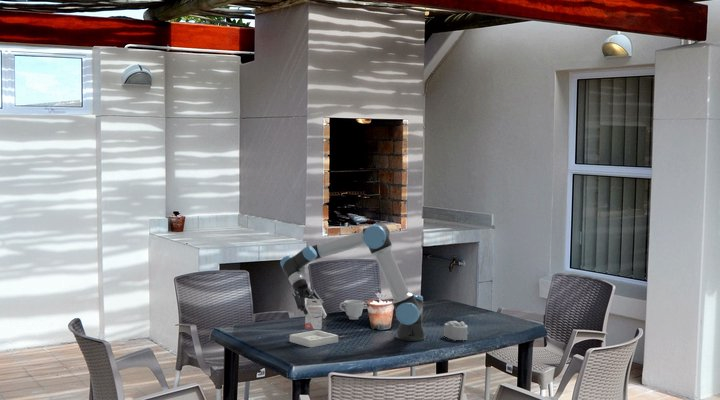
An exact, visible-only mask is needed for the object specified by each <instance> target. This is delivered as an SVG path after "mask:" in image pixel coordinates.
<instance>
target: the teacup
mask: <svg viewBox="0 0 720 400" xmlns="http://www.w3.org/2000/svg"><path fill="white" fill-rule="evenodd" d="M364 304H365V301H364V300H360V299H346V300H344V301H343V302H340V303H339V308H340V310H341V311H342V312H343V311H344V312H345V313H346V316H348V319H349V320H351V321H352V320H353V321H356V320H359V319H360V318H359V317H361V316H362V314H363V310H364V309H363V308H364ZM342 305H343V306H344V307H345V308H343V307H342Z"/></svg>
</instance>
